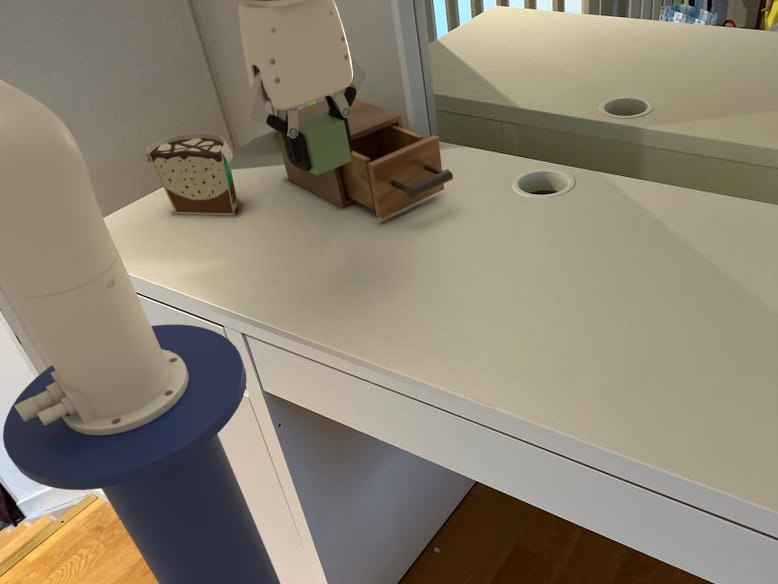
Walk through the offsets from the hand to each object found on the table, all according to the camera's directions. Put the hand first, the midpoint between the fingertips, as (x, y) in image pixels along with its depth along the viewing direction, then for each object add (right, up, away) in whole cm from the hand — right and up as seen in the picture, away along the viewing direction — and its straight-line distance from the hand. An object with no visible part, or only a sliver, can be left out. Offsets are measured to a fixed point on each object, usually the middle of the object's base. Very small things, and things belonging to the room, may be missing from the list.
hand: (322, 157), depth 82 cm
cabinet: (-3, +5, +31) cm, 31 cm away
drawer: (+5, +1, +23) cm, 24 cm away
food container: (-22, 0, +27) cm, 35 cm away
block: (0, 0, 0) cm, 1 cm away
